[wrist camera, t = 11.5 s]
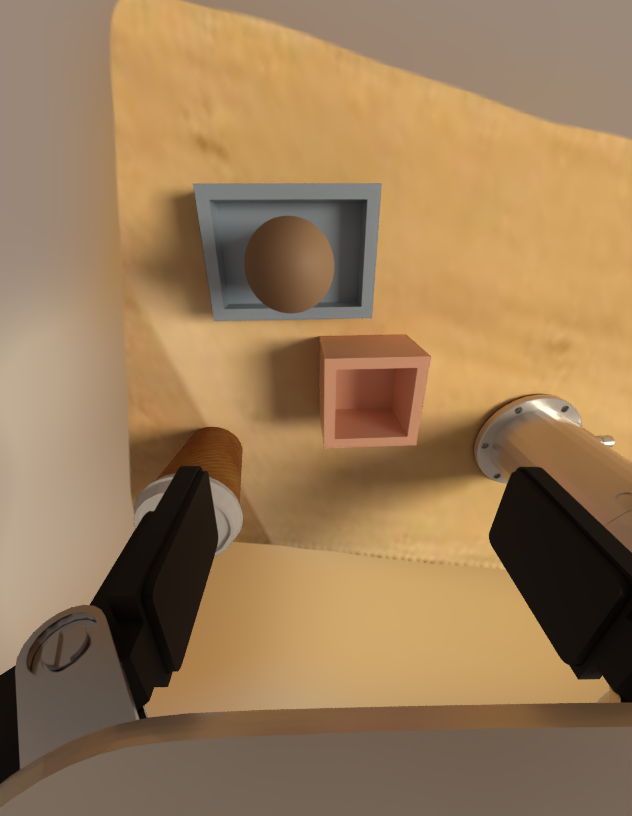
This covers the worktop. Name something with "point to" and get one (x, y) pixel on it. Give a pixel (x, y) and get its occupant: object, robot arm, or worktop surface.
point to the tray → (317, 203)
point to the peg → (289, 264)
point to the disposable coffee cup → (223, 464)
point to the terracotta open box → (371, 390)
